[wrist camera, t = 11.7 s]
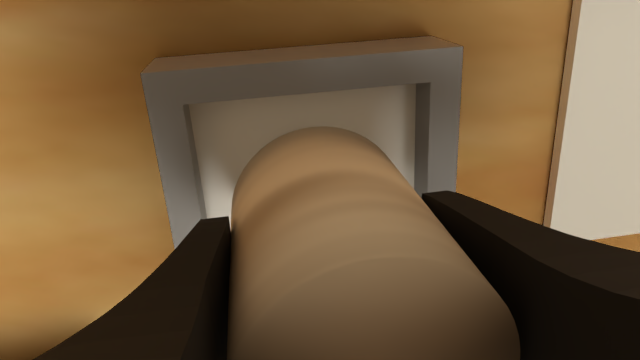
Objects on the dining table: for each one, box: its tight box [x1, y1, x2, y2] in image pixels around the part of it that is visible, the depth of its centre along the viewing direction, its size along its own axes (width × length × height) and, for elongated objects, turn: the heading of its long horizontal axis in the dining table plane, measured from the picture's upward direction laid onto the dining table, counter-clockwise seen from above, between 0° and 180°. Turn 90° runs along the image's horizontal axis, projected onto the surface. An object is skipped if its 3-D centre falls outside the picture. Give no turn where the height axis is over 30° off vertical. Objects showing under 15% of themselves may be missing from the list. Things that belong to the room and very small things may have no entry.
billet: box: [227, 126, 520, 360], centre depth 10 cm, size 4×4×6 cm
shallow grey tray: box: [140, 36, 463, 249], centre depth 16 cm, size 14×8×2 cm, turn 4°
